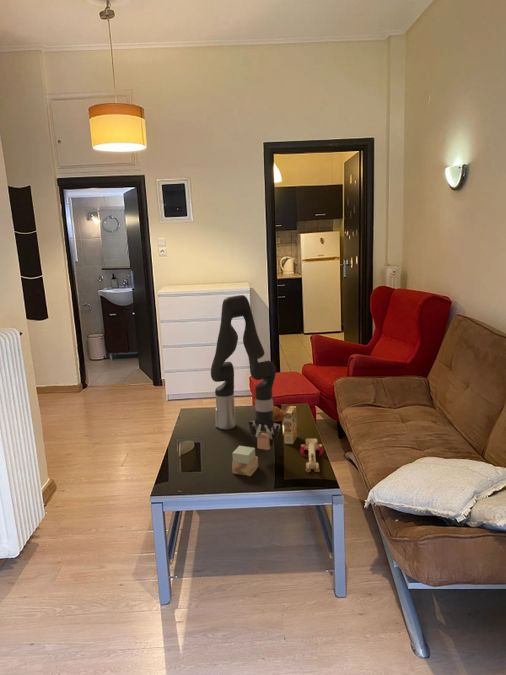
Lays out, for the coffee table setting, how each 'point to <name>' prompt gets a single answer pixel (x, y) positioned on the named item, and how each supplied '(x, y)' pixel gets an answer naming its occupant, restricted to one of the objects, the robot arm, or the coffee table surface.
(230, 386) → the robot arm
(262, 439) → the terracotta cube
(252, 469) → the oak block
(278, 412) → the bread roll
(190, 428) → the coffee table surface
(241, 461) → the sage block
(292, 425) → the candy box
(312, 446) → the beige elongated piece
